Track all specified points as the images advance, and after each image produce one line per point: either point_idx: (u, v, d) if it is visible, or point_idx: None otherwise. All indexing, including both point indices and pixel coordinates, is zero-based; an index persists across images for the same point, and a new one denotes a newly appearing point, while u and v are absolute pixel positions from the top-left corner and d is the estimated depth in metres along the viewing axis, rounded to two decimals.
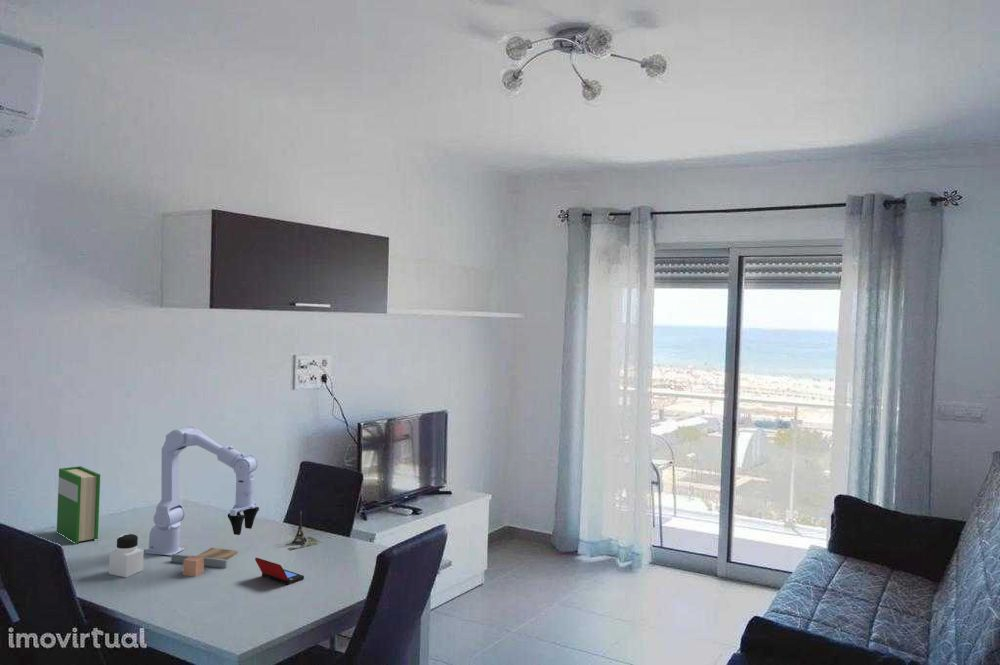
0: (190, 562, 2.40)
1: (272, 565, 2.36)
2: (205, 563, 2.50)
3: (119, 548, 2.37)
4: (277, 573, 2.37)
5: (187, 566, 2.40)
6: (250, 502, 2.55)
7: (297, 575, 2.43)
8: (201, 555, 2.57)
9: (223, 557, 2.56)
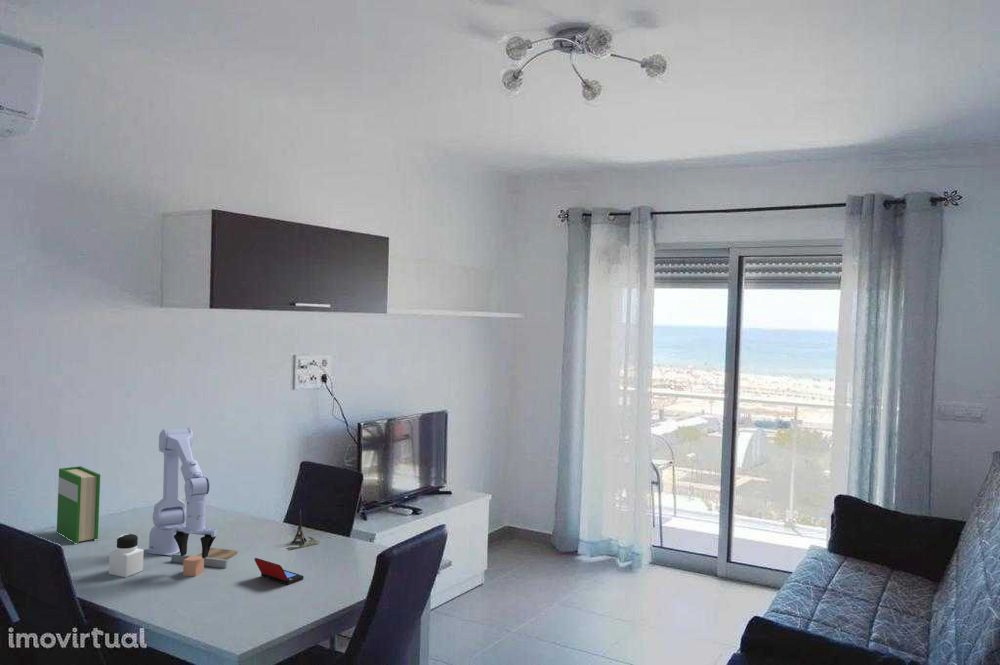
0: (190, 562, 2.40)
1: (271, 566, 2.36)
2: (205, 563, 2.50)
3: (119, 548, 2.37)
4: (277, 573, 2.37)
5: (187, 566, 2.40)
6: (188, 526, 2.39)
7: (296, 575, 2.43)
8: (201, 555, 2.57)
9: (223, 557, 2.56)
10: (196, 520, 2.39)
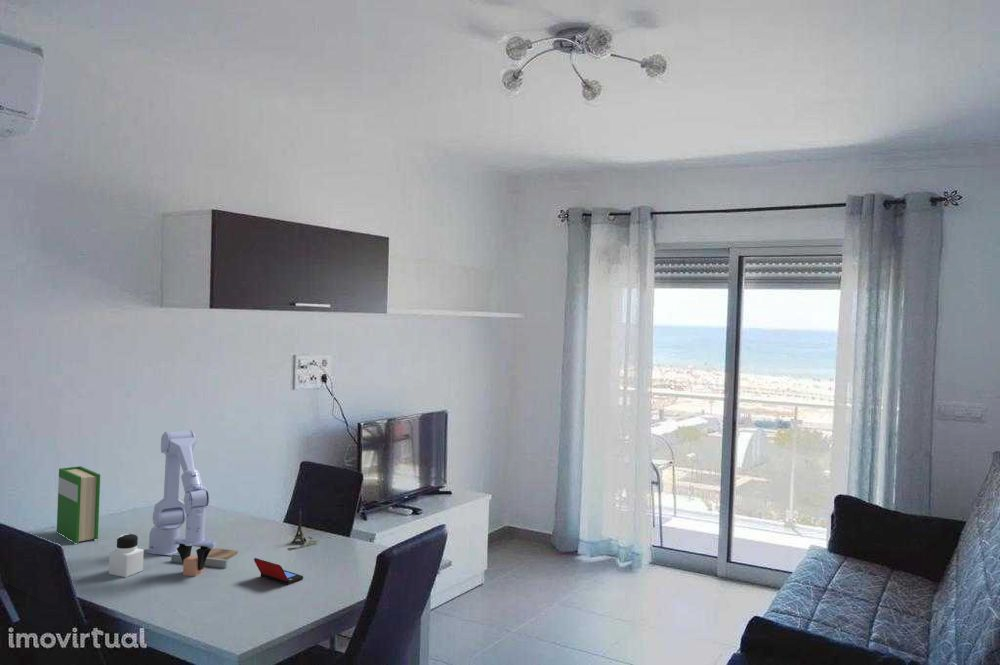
0: (190, 562, 2.40)
1: (271, 566, 2.36)
2: (205, 563, 2.50)
3: (119, 548, 2.37)
4: (276, 573, 2.36)
5: (187, 566, 2.40)
6: (188, 538, 2.40)
7: (296, 575, 2.42)
8: None
9: (223, 557, 2.56)
10: (195, 532, 2.40)
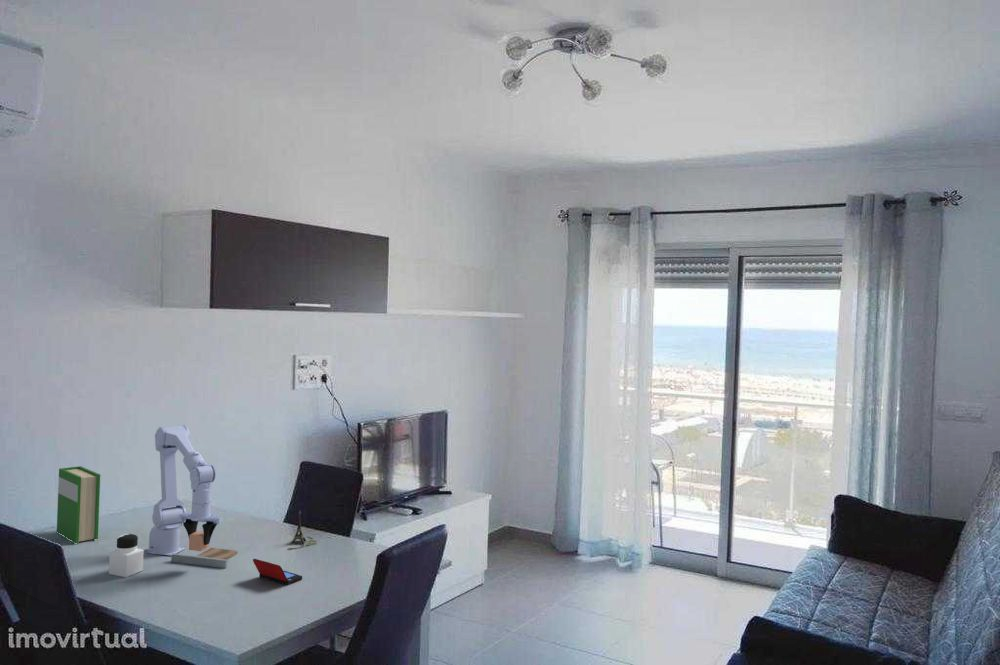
0: (196, 537, 2.43)
1: (270, 566, 2.35)
2: (205, 563, 2.50)
3: (119, 548, 2.37)
4: (276, 573, 2.36)
5: (193, 541, 2.44)
6: (194, 513, 2.43)
7: (295, 575, 2.42)
8: (201, 555, 2.57)
9: (223, 557, 2.56)
10: (201, 508, 2.43)
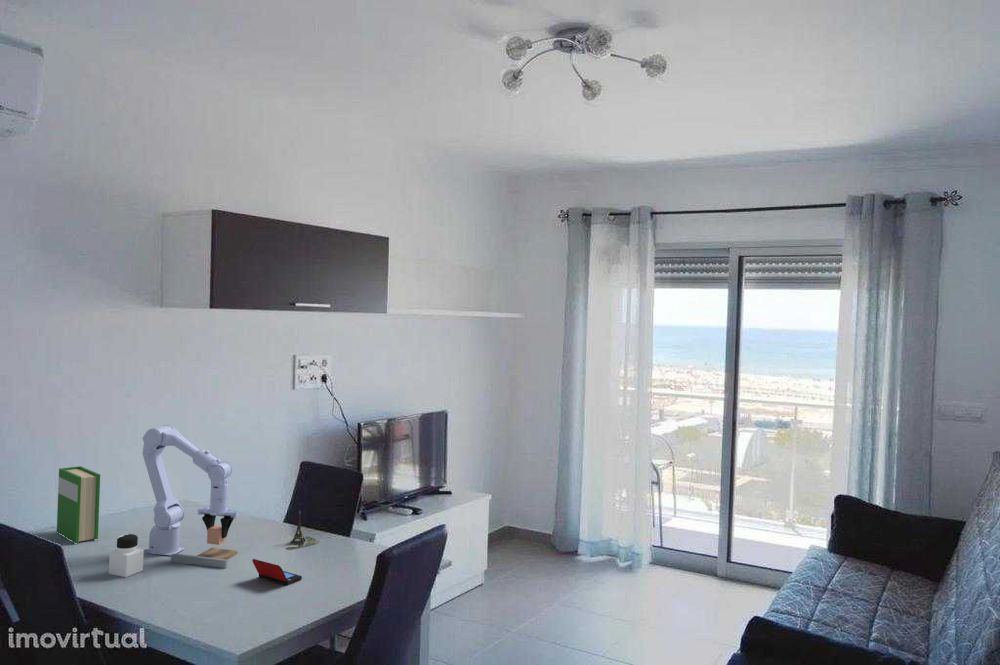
0: (214, 531, 2.56)
1: (270, 566, 2.35)
2: (205, 563, 2.50)
3: (119, 548, 2.37)
4: (276, 573, 2.36)
5: (211, 535, 2.57)
6: (212, 508, 2.56)
7: (295, 575, 2.42)
8: (201, 555, 2.57)
9: (223, 557, 2.56)
10: (219, 503, 2.56)
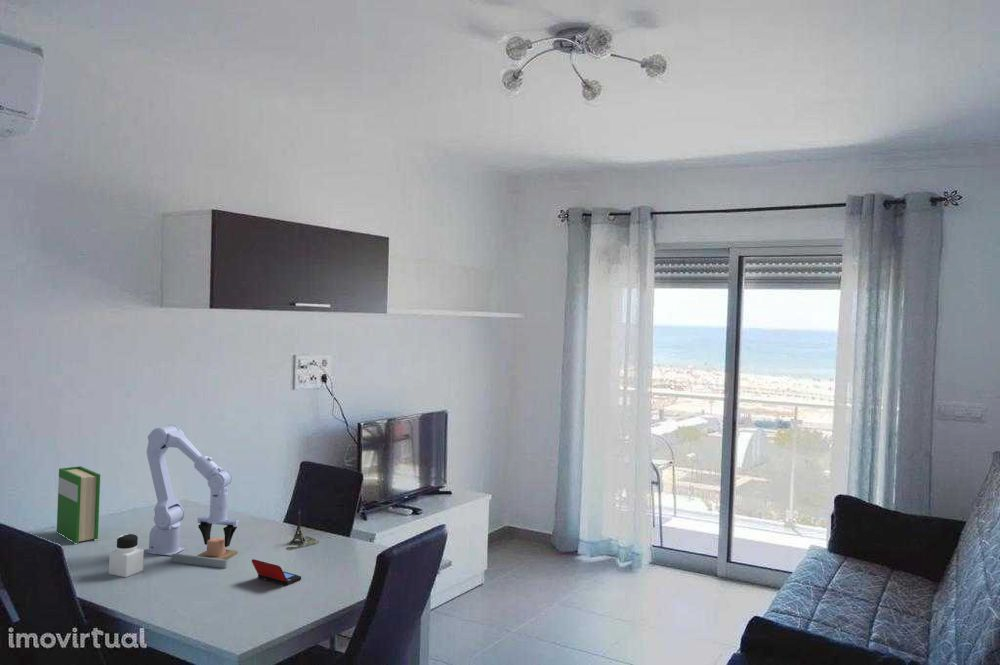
0: (213, 543, 2.57)
1: (270, 567, 2.35)
2: (205, 563, 2.50)
3: (119, 548, 2.37)
4: (275, 574, 2.36)
5: (210, 547, 2.57)
6: (212, 517, 2.57)
7: (294, 576, 2.42)
8: (201, 555, 2.57)
9: (223, 557, 2.56)
10: (219, 511, 2.57)
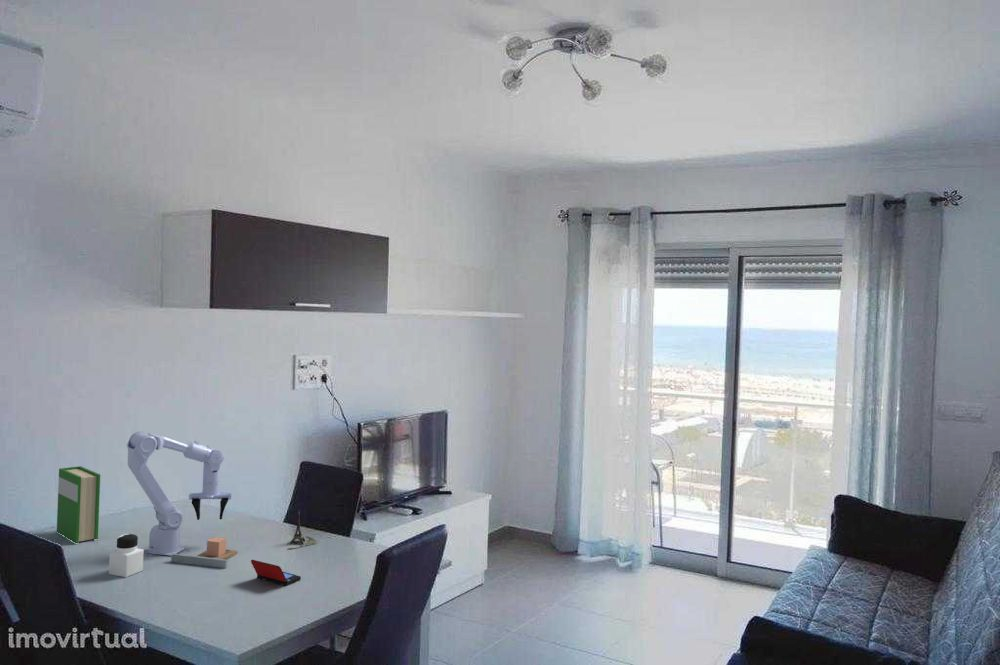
0: (213, 543, 2.57)
1: (269, 567, 2.35)
2: (205, 563, 2.50)
3: (119, 548, 2.37)
4: (275, 574, 2.36)
5: (210, 547, 2.57)
6: (207, 492, 2.68)
7: (293, 576, 2.42)
8: (201, 555, 2.57)
9: (223, 557, 2.56)
10: (215, 486, 2.69)
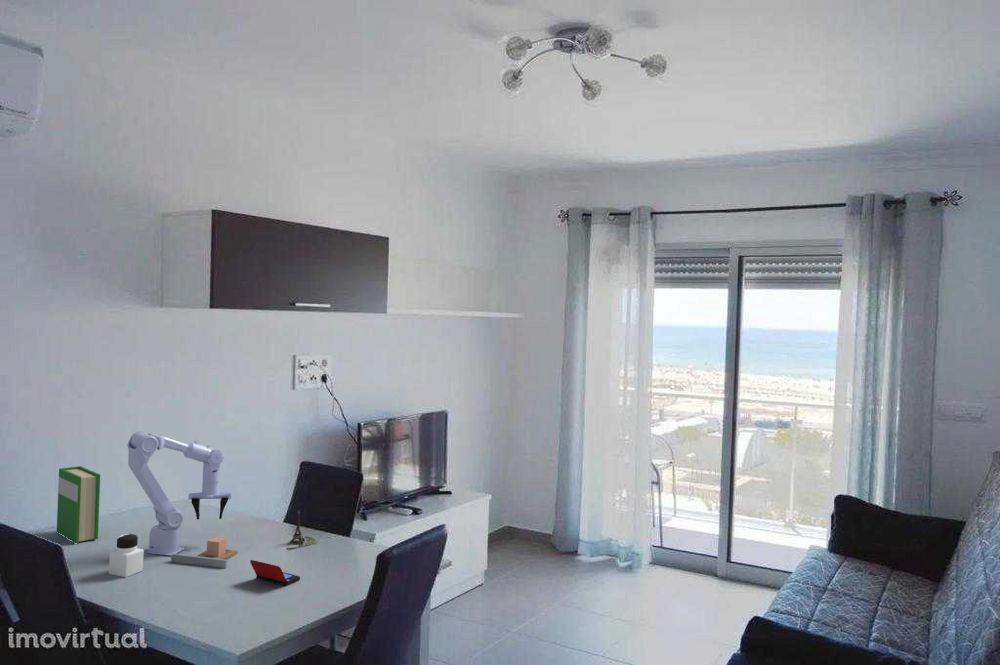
0: (213, 543, 2.57)
1: (269, 567, 2.34)
2: (205, 563, 2.50)
3: (119, 548, 2.37)
4: (274, 574, 2.35)
5: (210, 547, 2.57)
6: (207, 491, 2.69)
7: (293, 576, 2.42)
8: (201, 555, 2.57)
9: (223, 557, 2.56)
10: (215, 485, 2.70)
